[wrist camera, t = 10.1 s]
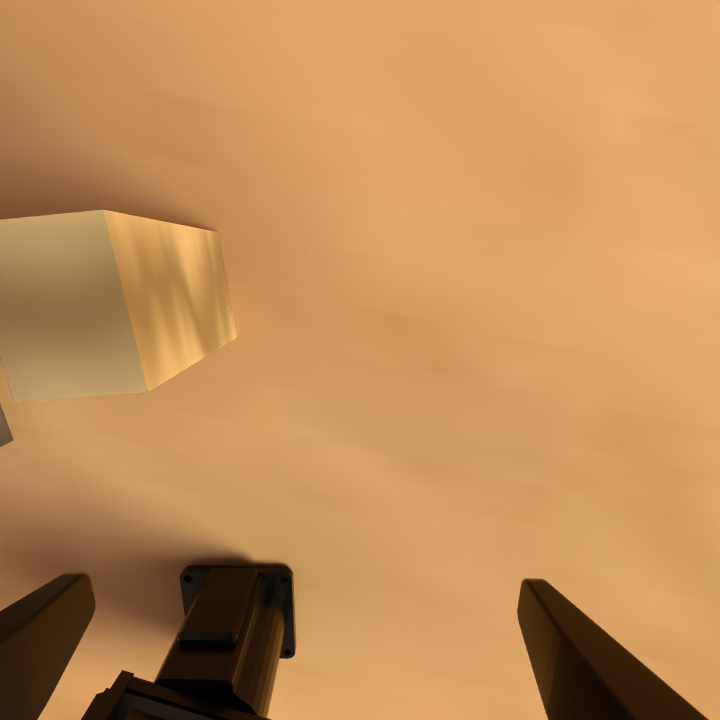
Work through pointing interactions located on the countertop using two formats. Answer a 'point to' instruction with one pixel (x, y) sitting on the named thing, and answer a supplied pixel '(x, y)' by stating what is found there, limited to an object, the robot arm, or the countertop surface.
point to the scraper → (106, 304)
